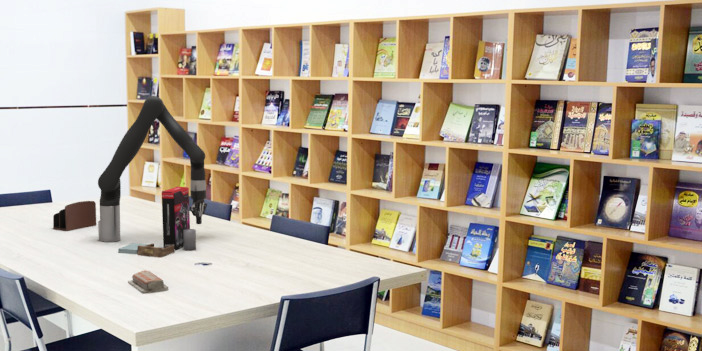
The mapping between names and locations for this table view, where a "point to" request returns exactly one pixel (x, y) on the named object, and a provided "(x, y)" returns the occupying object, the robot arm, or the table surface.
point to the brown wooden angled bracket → (154, 250)
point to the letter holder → (75, 216)
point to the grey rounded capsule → (189, 239)
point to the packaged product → (147, 282)
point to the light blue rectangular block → (130, 248)
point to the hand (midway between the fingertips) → (198, 223)
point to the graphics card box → (175, 216)
